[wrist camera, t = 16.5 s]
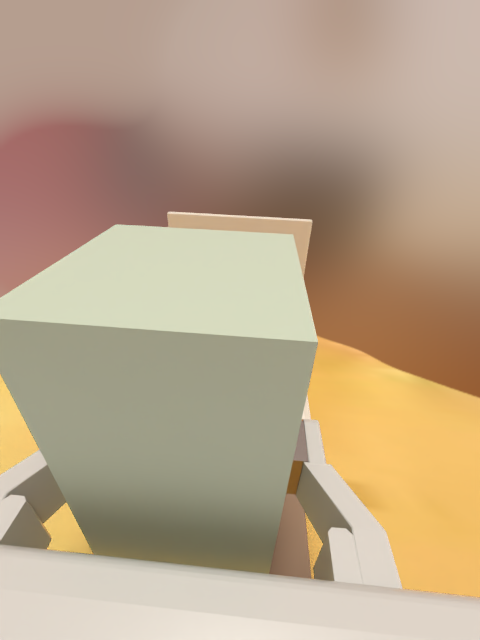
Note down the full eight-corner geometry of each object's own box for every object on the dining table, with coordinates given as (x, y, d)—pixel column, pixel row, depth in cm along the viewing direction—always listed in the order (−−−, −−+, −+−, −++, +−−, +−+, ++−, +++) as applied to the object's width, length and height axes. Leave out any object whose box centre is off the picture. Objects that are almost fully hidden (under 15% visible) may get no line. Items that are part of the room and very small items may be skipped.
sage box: (128, 620, 12) (-29, 316, 4) (164, 491, 16) (115, 224, 9) (255, 636, 12) (318, 341, 4) (259, 501, 16) (293, 234, 8)
